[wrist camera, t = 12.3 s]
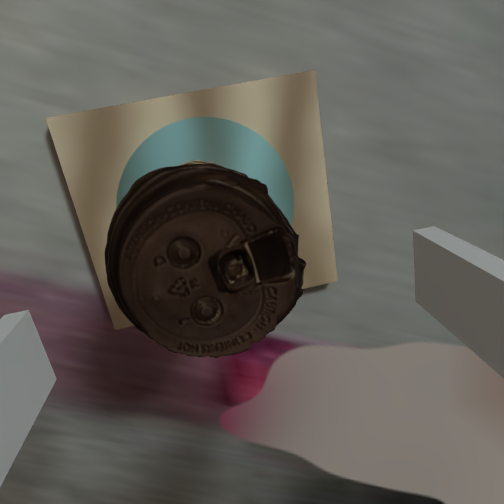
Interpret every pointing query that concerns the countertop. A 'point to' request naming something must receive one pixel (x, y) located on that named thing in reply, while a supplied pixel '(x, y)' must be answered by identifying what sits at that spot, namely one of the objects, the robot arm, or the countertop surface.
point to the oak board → (204, 158)
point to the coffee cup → (202, 259)
